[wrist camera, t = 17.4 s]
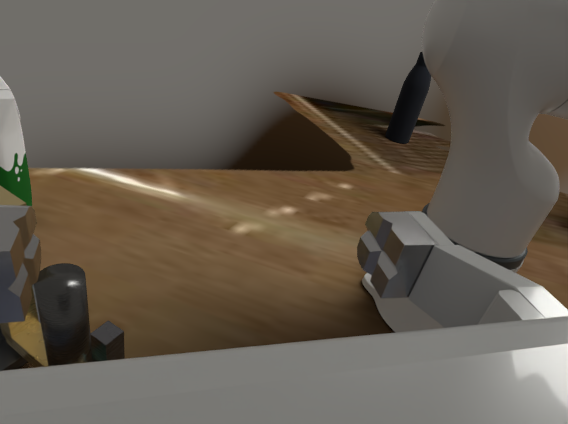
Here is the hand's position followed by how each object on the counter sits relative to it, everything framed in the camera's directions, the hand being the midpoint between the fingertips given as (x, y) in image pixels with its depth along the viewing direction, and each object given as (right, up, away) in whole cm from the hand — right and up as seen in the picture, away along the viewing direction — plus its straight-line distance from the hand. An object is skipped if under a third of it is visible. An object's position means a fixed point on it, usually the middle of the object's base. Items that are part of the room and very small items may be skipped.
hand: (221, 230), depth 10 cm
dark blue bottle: (+32, +20, +101) cm, 108 cm away
